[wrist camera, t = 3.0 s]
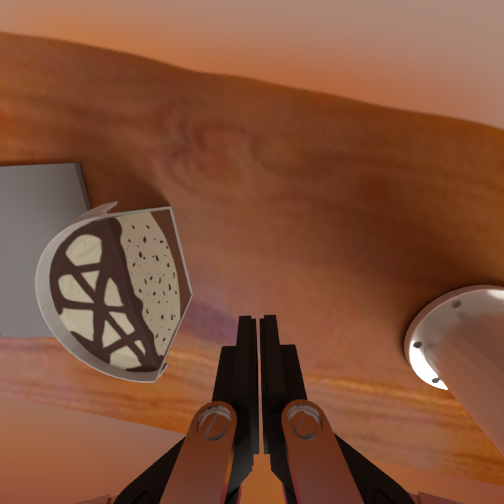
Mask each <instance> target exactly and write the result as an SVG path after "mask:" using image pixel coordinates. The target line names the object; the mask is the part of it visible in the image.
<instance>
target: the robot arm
mask: <svg viewBox="0 0 504 504" xmlns="http://www.w3.org/2000/svg"><path fill="white" fill-rule="evenodd" d="M404 352H405V357H406V360H407V361H408V363H409V365H410V367H411V368H412V369H413V370H414V372H415V373H416V374H417V376H419V377H420V378H421V379H422V380H423V381H425V382H427V383H428V384H430V385H432V386H436V387H439V388H442V389H448V390H449V391H450V392H451V393H452V395H453V396H454V397H455V398H456V399H457V400H458V402H459V403H460V404H461V405H462V406H463V408H464V409H465V410H466V411H467V412H468V414H469V415H470V416H471V417H472V418H473V420H474V421H475V422H476V423H477V424H478V426H479V427H480V428H481V429H482V430H483V432H484V433H485V434H486V435H487V436H488V438H489V439H490V440H491V441H492V442H493V443H494V445H495V446H496V447H497V448H498V449H499V451H500V452H501V453H502V454H503V455H504V287H501V286H494V285H474V286H468V287H463V288H460V289H457V290H454V291H451V292H448V293H446V294H444V295H442V296H440V297H438V298H437V299H435V300H434V301H432V302H431V303H430V304H428V305H427V306H426V307H425V308H424V309H423V310H421V311H420V312H419V313H418V315H417V316H416V317H415V318H414V320H413V321H412V322H411V324H410V326H409V328H408V330H407V332H406V336H405V340H404ZM260 355H261V393H262V418H263V442H264V454H270V464H271V470H272V472H273V473H274V474H275V475H276V476H277V477H278V478H279V479H280V480H281V482H282V489H283V494H284V499H285V504H465V503H461V502H457V501H453V500H449V499H445V498H442V497H438V496H434V495H431V494H427V493H423V492H419V491H418V494H417V495H416V494H411V493H408V492H406V491H405V490H404V489H403V488H402V487H401V486H400V485H399V484H398V483H397V482H395V481H394V480H393V479H392V478H390V477H389V476H388V475H386V474H385V473H384V472H383V471H381V470H380V469H379V468H378V467H376V466H375V465H374V464H373V463H371V462H370V461H369V460H367V459H366V458H365V457H364V456H362V455H361V454H360V453H359V452H357V451H356V450H355V449H354V448H352V447H351V446H350V445H349V444H347V443H346V442H345V441H343V440H342V439H341V438H340V437H338V436H337V435H336V434H335V433H333V431H332V429H331V426H330V424H329V422H328V419H327V417H326V415H325V414H324V412H323V410H322V409H321V408H320V407H319V406H318V405H316V404H314V403H313V402H311V401H308V400H307V396H306V391H305V387H304V382H303V378H302V373H301V369H300V364H299V359H298V355H297V350H296V346H295V344H293V345H280V342H279V335H278V327H277V320H276V315H264V318H262V319H260ZM253 454H259V396H258V354H257V332H256V319H251V316H239V324H238V333H237V342H236V346H223V347H222V349H221V354H220V360H219V365H218V370H217V376H216V381H215V387H214V392H213V397H212V402H210V403H207V404H206V405H204V406H202V407H201V408H200V409H199V410H198V411H197V412H196V414H195V416H194V418H193V420H192V422H191V425H190V427H189V430H188V432H187V435H186V436H185V437H184V438H183V439H182V440H181V441H179V442H178V443H177V444H176V445H175V446H174V447H172V448H171V449H170V450H169V451H168V452H167V453H166V454H164V455H163V456H162V457H161V458H160V459H158V460H157V461H156V462H155V463H154V464H153V465H151V466H150V467H149V468H148V469H147V470H146V471H144V472H143V473H142V474H141V475H140V476H139V477H137V478H136V479H135V480H134V481H133V482H132V483H130V484H129V485H128V486H127V487H126V488H125V489H124V490H123V491H122V492H121V493H120V494H119V495H116V496H113V497H110V495H109V494H106V495H103V496H99V497H96V498H93V499H89V500H86V501H82V502H79V503H75V504H240V499H241V494H242V487H243V480H244V479H245V478H246V477H247V476H248V475H249V473H250V472H251V471H252V465H253Z"/></svg>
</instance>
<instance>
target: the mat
mask: <svg viewBox="0 0 504 504" xmlns="http://www.w3.org/2000/svg"><path fill="white" fill-rule="evenodd" d="M89 210H91V206H90V202H89V198H88V195H87V191H86V187H85V183H84V180H83V176H82V172H81V168H80V165H79V163H62V164H42V165H23V166H3V167H0V333H1V335H2V337H55V336H54V334H53V333H52V332H51V330H50V329H49V327H48V325H47V324H46V322H45V320H44V318H43V316H42V313H41V311H40V308H39V305H38V301H37V297H36V289H35V277H36V269H37V265H38V263H39V260H40V257H41V255H42V253H43V251H44V250H45V248H46V246H47V245H48V243H49V242H50V241H51V240H52V239H53V237H54V236H55V235H56V234H57V233H58V232H59V231H60V230H61V229H62V228H63V227H64V226H65V225H67V224H68V223H70V222H71V221H73V220H74V219H76V218H77V217H79V216H81V215H82V214H84V213H85V212H87V211H89Z"/></svg>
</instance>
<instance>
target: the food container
mask: <svg viewBox="0 0 504 504" xmlns="http://www.w3.org/2000/svg"><path fill="white" fill-rule="evenodd" d="M117 204H118V203H117V201H115V202H111V203H107V204H102V205H100V206H98V207H95V208H93V209H91V210H89V211H87V212H85V213H84V214H82V215H81V216H79V217H77V218H76V219H74V220H73V221H71V222H70V223H68V224H67V225H65V226H64V227H63V228H62V229H61V230H60V231H59V232H58V233H57V234H56V235H55V236H54V237H53V239H52V240H51V241H50V242H49V243H48V245H47V246H46V248H45V250H44V251H43V253H42V255H41V257H40V260H39V263H38V265H37V269H36V277H35V289H36V297H37V301H38V305H39V308H40V311H41V313H42V316H43V318H44V320H45V322H46V324H47V325H48V327H49V329H50V330H51V332H52V333H53V334H54V336H55V337H56V338H57V339H58V341H59V342H60V343H61V344H62V345H63V346H64V347H65V348H66V349H67V350H68V351H69V352H70V353H72V354H73V355H74V356H75V357H77V358H78V359H79V360H81V361H82V362H84V363H85V364H87V365H89V366H90V367H92V368H94V369H96V370H98V371H100V372H102V373H104V374H107V375H110V376H113V377H116V378H119V379H123V380H128V381H134V382H156V380H157V378H158V377H161V375H162V374H163V372H164V371H165V369H166V368H167V366H168V363H164V362H165V360H166V357H167V355H168V353H169V350H170V348H171V346H172V343H173V341H174V339H175V336H176V334H177V332H178V329H179V327H180V324H181V322H182V320H183V317H184V315H185V313H186V310H187V308H188V306H189V303H190V301H191V298H192V296H193V293H192V289H191V285H190V280H189V276H188V272H187V268H186V264H185V260H184V256H183V252H182V247H181V243H180V239H179V235H178V231H177V227H176V223H175V219H174V215H173V210H172V206H168V207H160V208H151V209H143V210H135V211H127V212H119V213H111V214H107V211H108V210H110V209H111V208H112V207H114V206H115V205H117Z"/></svg>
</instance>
